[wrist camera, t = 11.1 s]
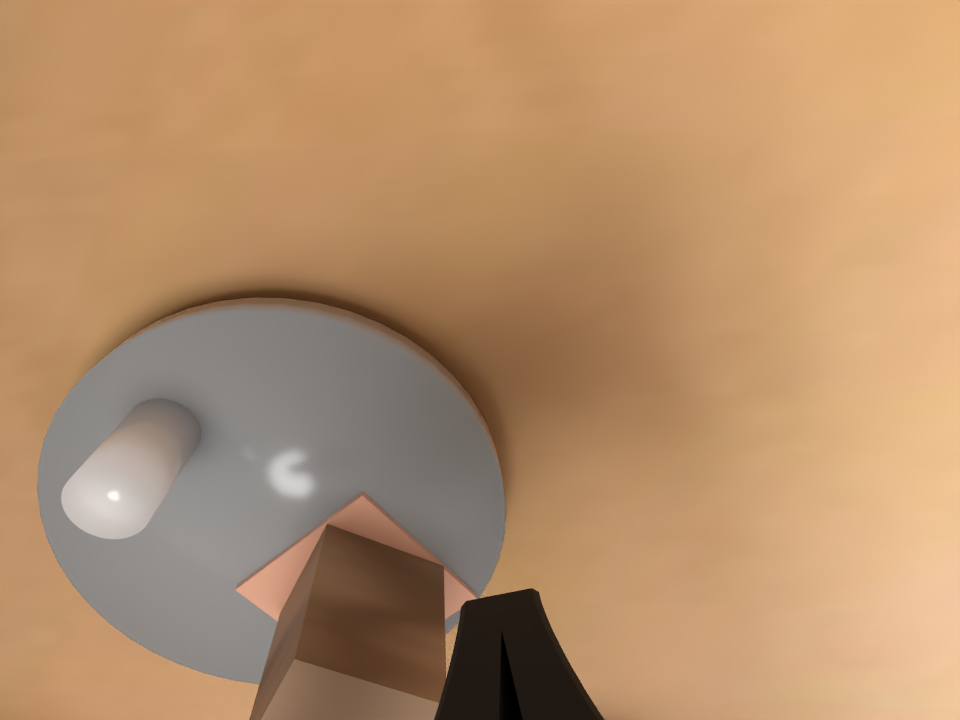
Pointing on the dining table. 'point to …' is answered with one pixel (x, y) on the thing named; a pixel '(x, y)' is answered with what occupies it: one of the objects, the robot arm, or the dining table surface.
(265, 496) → the turntable
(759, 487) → the dining table surface
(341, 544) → the walnut block
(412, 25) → the dining table surface
